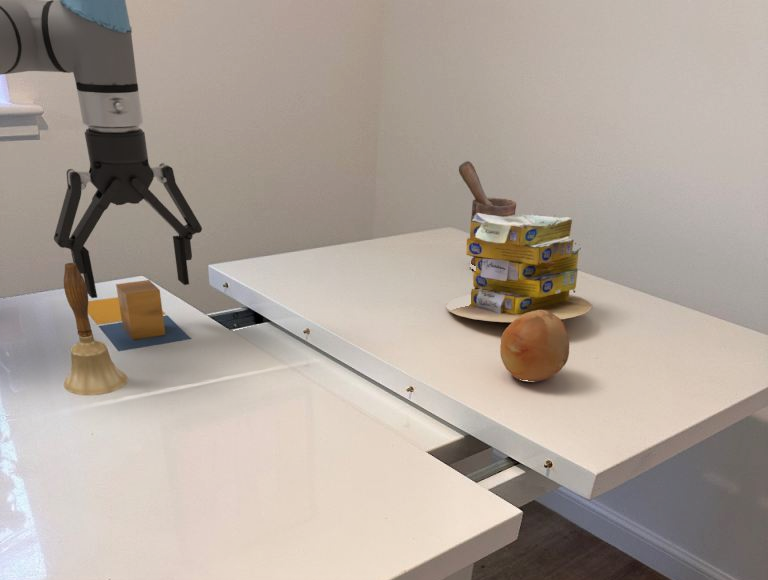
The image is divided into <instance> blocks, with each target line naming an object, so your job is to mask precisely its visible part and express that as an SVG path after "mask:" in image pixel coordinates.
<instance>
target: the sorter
mask: <svg viewBox="0 0 768 580" xmlns="http://www.w3.org/2000/svg"><path fill="white" fill-rule="evenodd" d="M162 312H163V319H164V327H165V335H162V336H156V337H150V338H144V339H138V340H132V338H131V337H130V336H129V335H128V334H127V333H126V332H125V330H124V329H123V324H122V318H121V312H120V306H119V300H118V296H117V297H109V298H102V299H95V300H88V316H89V317H90V318H91V319H92V321H93V322H94V323H95V324H96V325H97V326H98V328H99V329H100V330H101V331H102V333H103V334H104V336H105V337H106V338H107V339H108V340H109V341H110V343H111V345H113V347H114V348H115V349H116V350H117V351H118V352H124V351H129V350H135V349H141V348H147V347H153V346H159V345H164V344H170V343H176V342H182V341H188V340H192V337H191V336H189V335H188V333H186V332H185V331H184V330H183V329H182V328H181V327H180V325H178V324H177V323H176V322H175V321H174V320H173V319H172V318H171V317H170V316H169V315H167V314H166V312H165V311H163V310H162Z"/></svg>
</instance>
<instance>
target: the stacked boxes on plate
mask: <svg viewBox="0 0 768 580" xmlns="http://www.w3.org/2000/svg"><path fill="white" fill-rule="evenodd" d="M572 224H573V218H571V217H570V216H565V217H564V216H563V217H560V216H557V215H544V214H543V215H542V214H539V212H538V211H537V212H536V213H535V215H534V213H530V214H521V213H518V214H515V215H512V216H510V215H508V217H507V216H506V217H501V216H494V215H486V214H481V213H476V215H475V216H474V218H473V220H472V221H471V220H470V226H469V227H470V229H469V230H470V232H469V236H468V237H467V238H466V256H469V257H472V258H473V257H474V258H475V264H476V271H473V272H472V286H473V288H472V289H471V290H470V294H471V304H470V305H469V306H465V307H460V308H456V309H453V310H448V309H447V311H448V312H450V313H452V314H453V315H456V316H458V317H463V318H467V319H472V320H479V321H484V322H485V321H486V322H496V323H497V322H498V323H512V322H513V321H514V320H515V319H517V318H518V317H520V316H521V315H523V314H525V313H528V312H531V311H536V310H548V311H550V312H551V313H553V314H554V315H556V316H557V317H558V318H560V320H565V319H571V318H575V317H578V316H579V317H580V316H582V315H585V314H586V313H587V312H589V311H591V310H592V309H593V306H592V305H593V304H592V303H591V302H590V301H588V300H586V299H584V298H582V297H579V296H576V295H573V294H570V291H573V293H576V287H577V282H578V281H577V279H578V272H579V269H578V262H579V261H578V260H579V251H580V250H581V249H582V247H579V248H578V249H577V250H573V248H574V244H575V245H577V242H574V241H575V239H572V238H571V237H570V236H571V230H572ZM580 245H581V244H580V243H579V244H578V246H580Z"/></svg>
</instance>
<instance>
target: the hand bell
mask: <svg viewBox="0 0 768 580" xmlns="http://www.w3.org/2000/svg"><path fill="white" fill-rule="evenodd" d="M63 290H64V292H65V293H64V294H65V298H66V301H67V303H68V304H69V307H70V308H71V311H72V313H73V315H74V319H75V323H76V329H77V335H78V337H79V342H77V343H75V344H73V345H72V346H71V347H70V356H71V367H70V372H69V374H68V376H67V377H66V379H65V380H64V382H63V388H64V389H65V390H66V391H67V392H68V393H71V394H74V395H77V396H79V395H80V396H100V395H101V396H102V395H106V394H111V393H114V392H116V391H118V390H121V389H122V388H123V387H125V386H126V385H127V383H128V381H129V378H128V376H127V374H125V372H123V371H122V370H120V369H119V368H118V367H117V366H116V365H115V364H114V362H113V360H112V358H111V354H110V352H109V350H108V346H107V345H106V344H105V343H104V342H102V341H99V340H95V337H94V334H93V330H92V327H91V323H90V318H89V314H88V301H89V294H88V292H87V287H86V284H85V280H84V276H83V275H82V274H80V272H79V270H78V268H77V266H76V264H75V263H73V262H68V263H65V264H64V275H63Z"/></svg>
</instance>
